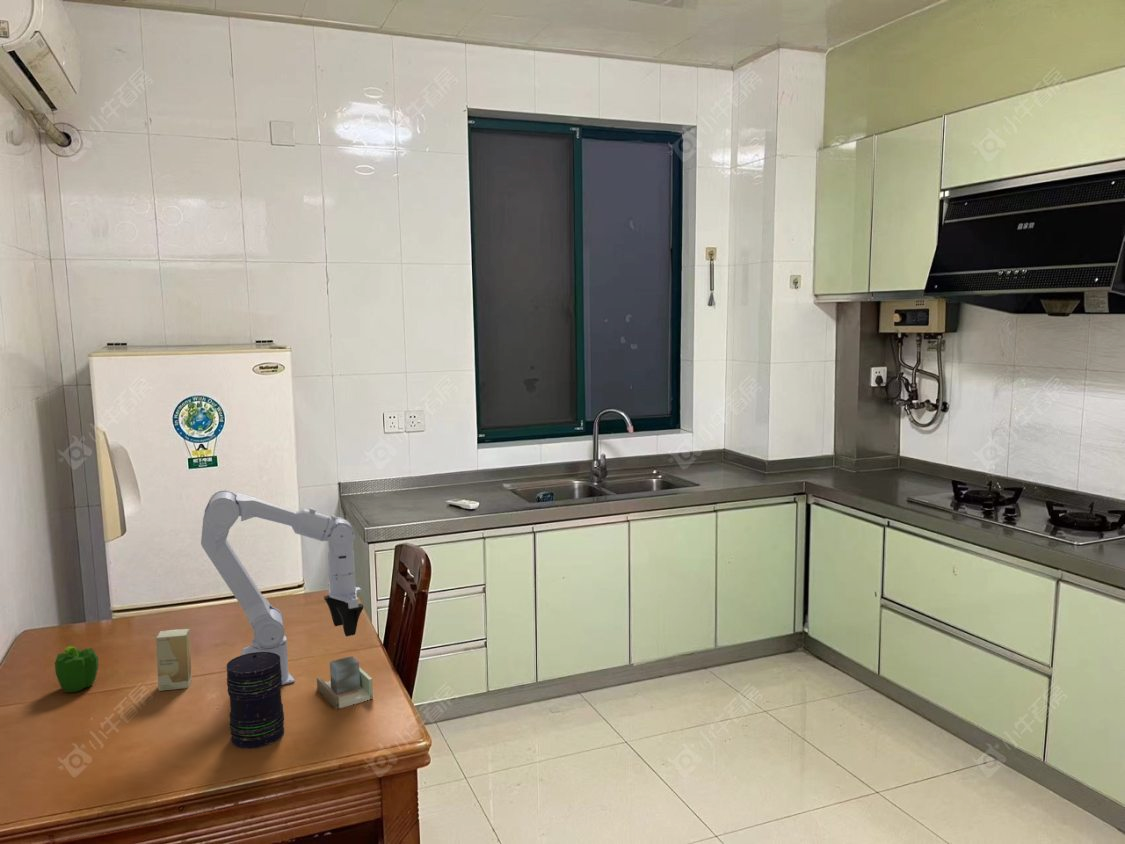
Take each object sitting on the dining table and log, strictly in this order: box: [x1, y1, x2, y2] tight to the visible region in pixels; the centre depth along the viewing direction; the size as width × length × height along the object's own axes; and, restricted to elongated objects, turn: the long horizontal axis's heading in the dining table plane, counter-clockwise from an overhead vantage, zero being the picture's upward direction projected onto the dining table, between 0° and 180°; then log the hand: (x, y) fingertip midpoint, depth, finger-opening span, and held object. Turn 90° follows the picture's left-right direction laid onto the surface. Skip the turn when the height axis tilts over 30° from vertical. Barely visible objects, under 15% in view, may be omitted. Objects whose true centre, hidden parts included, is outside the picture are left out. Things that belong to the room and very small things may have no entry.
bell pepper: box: [54, 645, 99, 693], centre depth 180 cm, size 8×8×10 cm
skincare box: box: [156, 628, 193, 692], centre depth 180 cm, size 6×4×12 cm
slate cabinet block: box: [329, 655, 360, 695], centre depth 175 cm, size 5×4×6 cm
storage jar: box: [226, 652, 285, 750], centre depth 157 cm, size 10×10×15 cm
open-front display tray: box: [316, 666, 374, 710], centre depth 175 cm, size 8×12×4 cm, turn 34°
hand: (344, 630), depth 187 cm, fingers open, 7 cm apart
